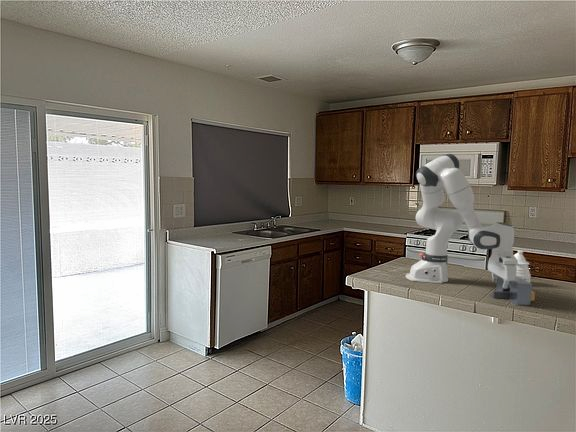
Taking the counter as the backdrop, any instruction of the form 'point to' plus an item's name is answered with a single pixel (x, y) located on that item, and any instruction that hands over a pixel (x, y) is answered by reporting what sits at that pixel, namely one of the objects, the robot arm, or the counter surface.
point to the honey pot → (522, 267)
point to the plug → (507, 295)
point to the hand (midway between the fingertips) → (499, 285)
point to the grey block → (517, 290)
